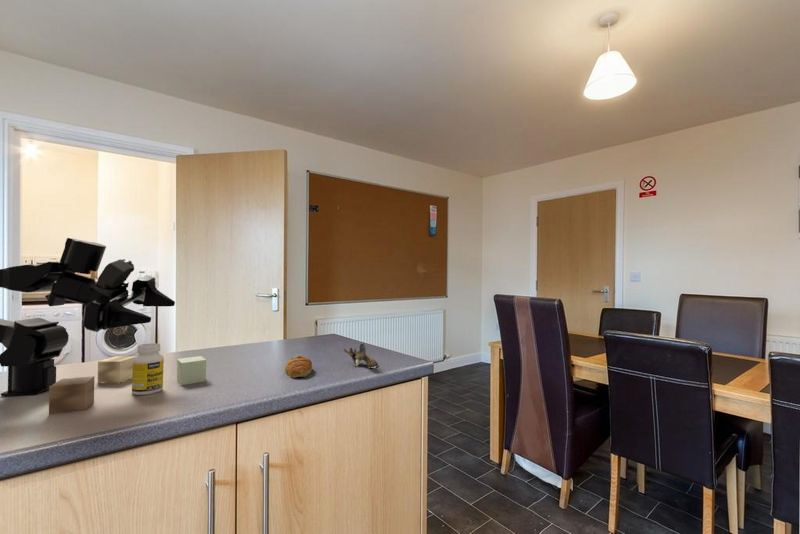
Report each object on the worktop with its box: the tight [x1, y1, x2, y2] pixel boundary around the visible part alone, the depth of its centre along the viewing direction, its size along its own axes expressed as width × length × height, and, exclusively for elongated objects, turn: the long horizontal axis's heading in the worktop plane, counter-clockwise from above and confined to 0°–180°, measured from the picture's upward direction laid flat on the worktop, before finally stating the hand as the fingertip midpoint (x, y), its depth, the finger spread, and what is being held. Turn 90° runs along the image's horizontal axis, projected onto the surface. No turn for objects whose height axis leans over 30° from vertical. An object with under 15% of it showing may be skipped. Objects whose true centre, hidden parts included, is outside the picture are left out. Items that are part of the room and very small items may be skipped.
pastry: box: [284, 355, 314, 379], centre depth 92 cm, size 9×7×4 cm
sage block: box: [176, 355, 207, 386], centre depth 85 cm, size 5×5×5 cm
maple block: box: [97, 355, 137, 384], centre depth 85 cm, size 5×5×5 cm
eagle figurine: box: [343, 343, 379, 369], centre depth 100 cm, size 8×7×9 cm
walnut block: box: [48, 375, 96, 416], centre depth 68 cm, size 5×5×5 cm
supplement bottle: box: [131, 342, 165, 396], centre depth 77 cm, size 5×5×10 cm
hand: (163, 311), depth 81 cm, fingers open, 9 cm apart
